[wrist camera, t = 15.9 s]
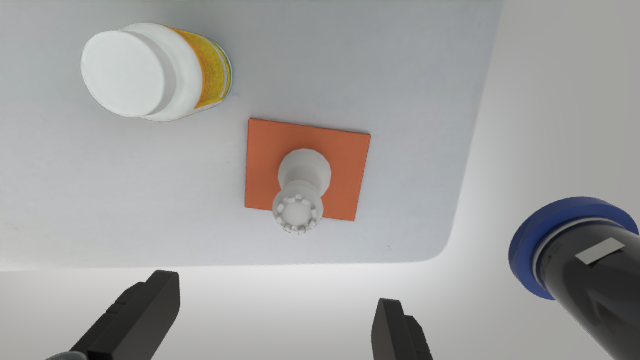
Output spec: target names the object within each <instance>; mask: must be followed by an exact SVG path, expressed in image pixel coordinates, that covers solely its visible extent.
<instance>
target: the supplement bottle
mask: <svg viewBox="0 0 640 360" xmlns="http://www.w3.org/2000/svg"><path fill="white" fill-rule="evenodd" d="M80 66H81V73H82V76H83V80H84V82H85V84H86V86H87V88H88V90H89V91H90V93H91V94H92V96H93V97H94V98H95V99H96V100H97V101H98V102H99V103H100V104H101V105H102V106H103V107H104V108H106V109H108V110H109V111H111V112H113V113H115V114H118V115H121V116H125V117H142V118H144V119H148V120H151V121H158V122H167V121H173V120H177V119H180V118H183V117H185V116H188V115H191V114H194V113H197V112H200V111H203V110H206V109H209V108H212V107H214V106H216V105H218V104H219V103H221V102H222V101H223V100H224V99H225V98H226V96H227V95H228V93H229V91H230V88H231V84H232V67H231V64H230V61H229V59H228V57H227V55H226V53H225V52H224V51H223V49H222V48H221V47H220V46H219V45H218V44H217V43H215V42H214V41H212V40H210V39H208V38H206V37H203V36H201V35H197V34H193V33H189V32H186V31H182V30H178V29H174V28H170V27H167V26H164V25H161V24H156V23H148V22H142V23H135V24H131V25H128V26H126V27H124V28H122V29H120V30H108V31H103V32H100V33H97V34H96V35H94V36H93V37H92V38H90V39H89V41H88V42H87V43H86V45H85V46H84V48H83V51H82V55H81V64H80Z"/></svg>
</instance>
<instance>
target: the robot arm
mask: <svg viewBox="0 0 640 360" xmlns="http://www.w3.org/2000/svg"><path fill="white" fill-rule="evenodd" d="M530 270H531V274H532V276H533V278H534V279H535V280H536V282H537V283H538V284H539V285H540V286H541V287H542V288H543V289H545V290H546V291H548V292H549V293H550V294H551V295H552V296H553V297H554V299H555V300H556V301H557V302H558V303H559V304H560V305H561V306H562V307H563V308H564V309H565V310H566V311H567V312H568V313H569V314H570V315H571V316H572V317H573V318H574V319H575V320H576V321H577V322H578V323H579V324H580V325H581V326H582V327H583V329H584V330H586V332H587V333H588V334H590V336H591V337H592V338H593V339H594V340H595V341H596V342H597V343H598V344H599V345H600V346H601V347H602V348H603V349H604V350H605V351H606V352H607V353H608V354H609V355H610V356H611V357H612V358H613V359H614V360H640V236H638V235H636V234H634V233H633V232H631V231H629V230H627V229H625V228H624V227H623V226H622V225H620V224H618V223H616V222H615V221H613V220H611V219H608V218H606V217H602V216H581V217H576V218H572V219H569V220H567V221H564V222H562V223H560V224H558V225H557V226H555V227H554V228H552V229H551V230H549V231H548V232H547V233H546V234H545V235H544V236H543V237H542V238H541V239H540V240H539V241H538V243H537V244H536V246H535V248H534V249H533V252H532V254H531V258H530ZM179 308H180V289H179V275H178V273H177V272H172V271H164V270H156V271H155V272H154V273H153V274H152V275H151V276H150V277H149V278H148V280H147V281H146V282H138V283H136V284H135V285H133V286H131V287H130V288H128V289H127V290H125V291H124V292H123V293H122V294H121V295H120V296H119V297H118V298H117V300H116V301H115V303H114V304H112V305H111V306H110V307H109V308H108V309H107V310H106V313H104V314H103V315H102V316H101V317H100V318H99V319H98V320H97V321H96V322H95V324H93V326H92V327H91V328H90V329H89V330H88V331H87V332H86V333H85V334H84V335H83V336H82V338H81V339H80V340H79V341H78V342H77V343H76V344H75V345H74V346H73V347H72V348H71V349H70V350H69V351H68V352H63V353H59V354H56V355H54V356H52V357H50V358H48V359H46V360H151V358H152V356H153V355H154V353H155V351H156V350H157V348H158V347H159V345H160V344H161V342H162V340H163V339H164V337H165V335H166V333H167V332H168V330H169V329H170V327H171V326H172V324H173V322H174V321H175V319H176V317H177V315H178V312H179ZM371 342H372V350H373V356H374V360H433V358H432V356H431V354H430V350H429V347H428V344H427V343H426V339H425V336H424V333H423V330H422V327H421V326H420V325H419V324H418V322H417V321H416V320H415V319H414V317H413V316H408V315H404V313H403V309H402V306H401V303H400V301H399V300H393V299H385V298H380V299H379V302H378V305H377V309H376V313H375V317H374V321H373V325H372V331H371Z"/></svg>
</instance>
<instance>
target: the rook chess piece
mask: <svg viewBox="0 0 640 360" xmlns="http://www.w3.org/2000/svg"><path fill="white" fill-rule="evenodd" d="M330 178H331V169H330V165H329V163H328V162H327V160H326V159H325V158H324V156H323V155H321V154H320V153H318V152H316V151H315V150H311V149H304V148H303V149H298V150H294V151H292V152H291V153H289V154H288V155H286V156H285V157H284V159H283V160H282V162H281V164H280V166H279V172H278V181H279V184H280V188H281V191H280V192H279V193H278V194H277V195H276V197H275V199H274V200H273V207H272V211H273V214H274V217H275V219H276V220H277V223H278V224H280V225H281V226H283V227H284V228H283V230H285V231H287V232H288V233H290V232H291V230H292V231H298V234H302V233H305V232H306V230H309V229H312V228H313V227H314V226H316V225H317V224H318V222H319V221H320V220H321V218H322V215H323V209H324V208H323V204H322V200H321V198H320V197H321V196H323V195H324V193H325V192H326V190H327V189H328V187H329V184H330Z"/></svg>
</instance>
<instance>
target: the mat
mask: <svg viewBox="0 0 640 360" xmlns="http://www.w3.org/2000/svg"><path fill="white" fill-rule="evenodd" d="M370 137H371V136H370V134H363V133H356V132H348V131H341V130H334V129H326V128H319V127H312V126H304V125H297V124H290V123H282V122H275V121H268V120H261V119H253V118H250V119H249V123H248V145H247V167H246V189H245V207H248V208H256V209H263V210H271V211H272V207H273V200H274V199H275V197H276V195H277V194H278V193H279V192H280V191H281V188H280V184H279V181H278V172H279V166H280V164H281V162H282V160H283V159H284V157H285V156H286V155H288V154H289V153H291V152H292V151H294V150H298V149H303V148H304V149H311V150H315V151H316V152H318V153H320V154H321V155H323V156H324V158H325V159H326V160H327V162H328V163H329V165H330V169H331V178H330V184H329V187H328V189H327V190H326V192H325V193H324V195H323V196H321V197H320V198H321V200H322V204H323V208H324V209H323V215H322V217H325V218H333V219H341V220H349V221H354V218H355V213H356V208H357V203H358V197H359V192H360V187H361V182H362V177H363V172H364V167H365V162H366V157H367V152H368V147H369V142H370Z"/></svg>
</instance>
